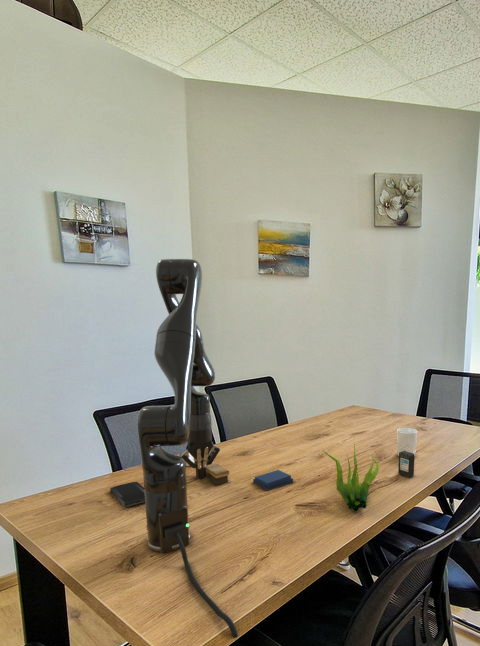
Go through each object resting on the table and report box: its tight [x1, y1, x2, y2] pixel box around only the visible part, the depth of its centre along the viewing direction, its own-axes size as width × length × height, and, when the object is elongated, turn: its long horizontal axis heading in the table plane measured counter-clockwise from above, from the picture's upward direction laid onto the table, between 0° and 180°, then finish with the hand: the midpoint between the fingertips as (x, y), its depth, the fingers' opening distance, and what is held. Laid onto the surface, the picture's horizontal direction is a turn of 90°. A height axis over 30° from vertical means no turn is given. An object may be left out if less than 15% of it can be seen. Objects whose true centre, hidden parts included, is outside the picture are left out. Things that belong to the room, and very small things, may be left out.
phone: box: [109, 481, 145, 508], centre depth 128 cm, size 8×1×15 cm
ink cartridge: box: [397, 451, 416, 478], centre depth 145 cm, size 5×2×8 cm, turn 44°
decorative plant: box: [321, 436, 380, 513], centre depth 132 cm, size 18×30×15 cm, turn 163°
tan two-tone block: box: [205, 460, 230, 486], centre depth 141 cm, size 12×4×4 cm, turn 41°
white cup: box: [396, 427, 419, 457], centre depth 164 cm, size 8×8×10 cm
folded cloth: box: [252, 469, 294, 491], centre depth 139 cm, size 8×10×2 cm
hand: (201, 478), depth 139 cm, fingers closed
